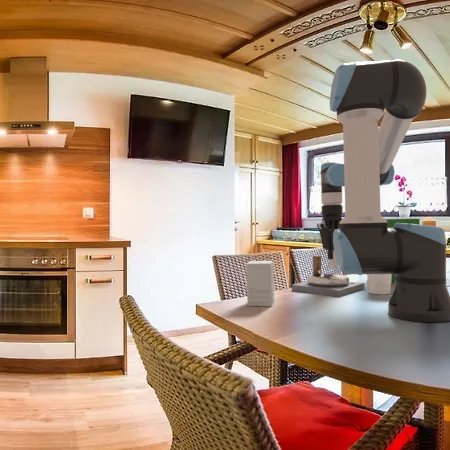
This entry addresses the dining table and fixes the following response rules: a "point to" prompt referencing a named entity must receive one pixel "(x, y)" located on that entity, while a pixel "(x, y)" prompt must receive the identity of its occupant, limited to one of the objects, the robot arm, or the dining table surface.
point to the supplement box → (260, 283)
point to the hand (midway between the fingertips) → (333, 267)
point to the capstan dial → (325, 276)
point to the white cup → (379, 283)
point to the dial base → (329, 288)
